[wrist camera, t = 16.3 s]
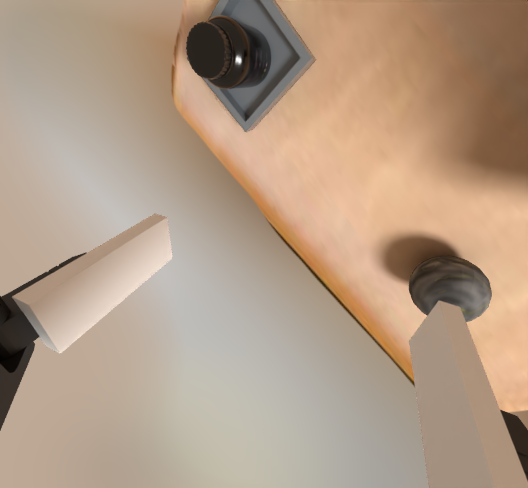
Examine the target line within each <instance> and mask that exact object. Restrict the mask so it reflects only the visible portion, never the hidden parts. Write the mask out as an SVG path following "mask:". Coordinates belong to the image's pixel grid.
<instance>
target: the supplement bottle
mask: <svg viewBox="0 0 528 488" xmlns="http://www.w3.org/2000/svg"><path fill="white" fill-rule="evenodd" d="M186 43H187V47H186V49H187V55H188V60H189V62H190V65H191V66H192V68H193V69H194V71H195V72H196V73H197V74H198V75H199V76H201V77H202V78H205V79H207V80H208V81H209V82H210V83H211V84H213V85H214V86H216V87H218V88H221V89H236V88H249V87H254V86H257V85H259V84H260V83H261V82H262V81H263V80H264V79H265V78H266V76H267V75H268V72H269V70H270V66H271V50H270V46H269V43H268V41H267V39H266V37H265V36H264V35H263V34H262V33H261V32H260V31H259V30H258V29H256V28H254V27H252V26H249V25H247V24H245V23H242V22H240V21H238V20H235V19H233V18H230V17H228V16H222V15H220V16H215V17H212V18H210V19H209V20H208V21H207V22H201V23H198V24H197V25H194V27H193V28H192V29H191V31H190V32H189V36H188V37H187V42H186Z"/></svg>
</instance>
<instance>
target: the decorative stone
mask: <svg viewBox="0 0 528 488" xmlns="http://www.w3.org/2000/svg"><path fill="white" fill-rule="evenodd" d="M409 292H410V295H411V298H412V300H413V302H414V304H415V305H416V306H417V307H418V308H419V309H420V310H421V311H422V312H423V313H424V314H426V315H427V316H428V314H429V313H430V312H431V310H432V309H433V308H434V306H435V305H436V304H437V302H438V301H442V302H446V303H449V304H452V305H455V306H459V307H460V308H461V311H462V313H463V316H464V318H465V321H466V322H468V321H472V320H473V319H475V318H477V317H479V316H480V315H481V314H482V313H483V312H484V311H485V310H486V309H487V308H488V306H489V303H490V300H491V296H492V292H491V287H490V283H489V280H488V278H487V277H486V276H485V275H484V273H483V272H482V271H481V270H480V269H479V268H478V267H477V266H475V265H474V264H472V263H470V262H469V261H467V260H464V259H461V258H457V257H452V256H440V257H434V258H431V259H429V260H426V261H424V262H422V263H421V264H420V265H419V266H418V267H416V268H415V270H414V272H413V273H412V275H411V277H410V281H409Z"/></svg>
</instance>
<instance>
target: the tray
mask: <svg viewBox="0 0 528 488" xmlns="http://www.w3.org/2000/svg"><path fill="white" fill-rule="evenodd" d="M220 15H222V16H228V17H230V18H233V19H235V20H238V21H240V22H242V23H245V24H247V25H249V26H252V27H254V28H256V29H258V30H259V31H260V32H261V33H262V34H263V35H264V36H265V37H266V39H267V41H268V43H269V46H270V50H271V66H270V70H269V72H268V75H267V76H266V78H265V79H264V80H263V81H262V82H261V83H260V84H259V85H257V86H254V87H249V88H236V89H221V88H218V87H216V86H214V85H213V84H211V83H210V82H209V81H208V80H207V79H205V78H203V79H204V81H205V82H206V83H207V84H208V86H209V87H210V88H211V89H212V91H213V92H214V93H215V94H216V96H217V97H218V98H219V99H220V101H221V102H222V103H223V104H224V106H225V107H226V108H227V109H228V111H229V112H230V113H231V114H232V116H233V117H234V118H235V119H236V121H237V122H238V123H239V124H240V126H241V127H242V128H243V129H244V131H245V132H247V131H250V130H253V129H254V128H255V127H256V125H257V124H258V123H259V122H260V121H261V120H262V119H263V118H264V117H265V116H266V114H267V113H268V112H269V111H270V110H271V109H272V108H273V107H274V106H275V104H276V103H277V102H278V101H279V100H280V99H281V98H282V97H283V96H284V95H285V93H286V92H287V91H288V90H289V89H290V88H291V87H292V86H293V85H294V84H295V82H296V81H297V80H298V79H299V78H300V77H301V76H302V75H303V74H304V73H305V71H306V70H307V69H308V68H309V67H310V66H311V65H312V64H313V63H314V62H315V60H316V59H315V58H314V56H313V55H312V53H311V52H310V50H309V49H308V47H307V46H306V45H305V43H304V42H303V40H302V39H301V37H300V36H299V34H298V33H297V31H296V30H295V29H294V27H293V26H292V24H291V23H290V21H289V20H288V18H287V17H286V16H285V14H284V13H283V11H282V10H281V8H280V7H279V5H278V4H277V3H276V1H275V0H219V2H218V3H217V5H216V7H215V9H214V11H213V12H212V14H211V16H210V18H212V17H215V16H220ZM210 18H209V19H210ZM187 59H188V57H187ZM188 61H189V60H188Z"/></svg>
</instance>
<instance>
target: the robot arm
mask: <svg viewBox="0 0 528 488" xmlns="http://www.w3.org/2000/svg"><path fill="white" fill-rule="evenodd" d="M171 259H172V251H171V243H170V235H169V228H168V221H167V217H165V216H161V215H158V214H154V215H152V216H150V217H148V218H147V219H145V220H143V221H141V222H140V223H138V224H136V225H135V226H133V227H131V228H130V229H128V230H126V231H124V232H122V233H121V234H119V235H117V236H116V237H114V238H112V239H110V240H109V241H107V242H105V243H104V244H102V245H100V246H98V247H97V248H95V249H93V250H92V251H90V252H88V253H84V254H80V255H78V256H75V257H72V258H70V259H68V260H66V261H65V262H63V263H61V264H59V266H56V267H54V268H52V269H51V270H49V272H45V273H43V274H42V275H40V276H38V277H37V278H34V279H33V280H31V281H29V282H28V283H26V284H24V285H22V286H20V287H19V288H17V289H15V290H13V291H12V292H10V293H8V294H6V295H4V296H2V297H1V296H0V430H1V428H2V425H3V423H4V420H5V418H6V415H7V413H8V411H9V408H10V405H11V404H12V401H13V399H14V396H15V394H16V391H17V389H18V387H19V384H20V382H21V380H22V377H23V374H24V372H25V370H26V368H27V365H28V363H29V360H30V358H31V355H32V353H33V351H34V346H35V343H34V342H33V341H34V340H36V339H37V338H38V337H40V338H41V340H42V341H43V343H44V344H45V345H46V346H47V347H49V348H51V349H52V350H54V351H56V352H58V353H60V354H61V353H62V352H63V351H64V350H65V349H66V348H67V347H68V346H70V345H71V344H72V343H73V342H75V341H76V340H77V339H78V338H79V337H80V336H82V335H83V334H84V333H85V332H86V331H87V330H88V329H90V328H91V327H92V326H93V325H95V324H96V323H97V322H98V321H99V320H100V319H101V318H103V317H104V316H105V315H106V314H107V313H109V312H110V311H111V310H112V309H113V308H114V307H116V306H117V305H118V304H119V303H120V302H121V301H123V300H124V299H125V298H126V297H127V296H129V295H130V294H131V293H132V292H133V291H134V290H136V289H137V288H138V287H139V286H140V285H141V284H143V283H144V282H145V281H146V280H147V279H149V278H150V277H151V276H152V275H153V274H154V273H156V272H157V271H158V270H159V269H160V268H161V267H163V266H164V265H165V264H166V263H167V262H168V261H170V260H171ZM409 345H410V352H411V359H412V367H413V374H414V381H415V389H416V396H417V403H418V411H419V418H420V424H421V433H422V439H423V447H424V455H425V462H426V470H427V476H428V484H429V488H528V430H527V428H526V427H525V426H524V424H523V423H522V422H521V420H520V419H519V418H518V417H517V416H515V415H513V414H510V413H507V412H505V411H502V410H500V409H499V406H498V404H497V401H496V398H495V396H494V393H493V391H492V388H491V385H490V383H489V380H488V378H487V375H486V373H485V370H484V367H483V365H482V362H481V360H480V357H479V355H478V352H477V349H476V347H475V344H474V342H473V339H472V337H471V334H470V331H469V329H468V326H467V324H466V321H465V318H464V316H463V313H462V311H461V308H460V307H459V306H455V305H452V304H449V303H446V302H442V301H438V302H437V304H436V305H435V306H434V308H433V309H432V310H431V312H430V313H429V314H428V316H427V317H426V319H425V320H424V321H423V323H422V324H421V325H420V327H419V328H418V329H417V331H416V332H415V333H414V335H413V336H412V337H411V339H410V340H409Z"/></svg>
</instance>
